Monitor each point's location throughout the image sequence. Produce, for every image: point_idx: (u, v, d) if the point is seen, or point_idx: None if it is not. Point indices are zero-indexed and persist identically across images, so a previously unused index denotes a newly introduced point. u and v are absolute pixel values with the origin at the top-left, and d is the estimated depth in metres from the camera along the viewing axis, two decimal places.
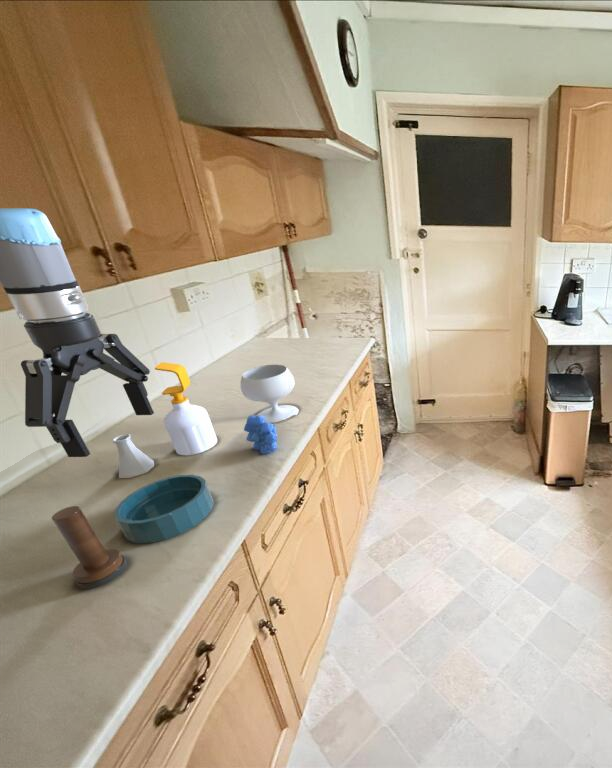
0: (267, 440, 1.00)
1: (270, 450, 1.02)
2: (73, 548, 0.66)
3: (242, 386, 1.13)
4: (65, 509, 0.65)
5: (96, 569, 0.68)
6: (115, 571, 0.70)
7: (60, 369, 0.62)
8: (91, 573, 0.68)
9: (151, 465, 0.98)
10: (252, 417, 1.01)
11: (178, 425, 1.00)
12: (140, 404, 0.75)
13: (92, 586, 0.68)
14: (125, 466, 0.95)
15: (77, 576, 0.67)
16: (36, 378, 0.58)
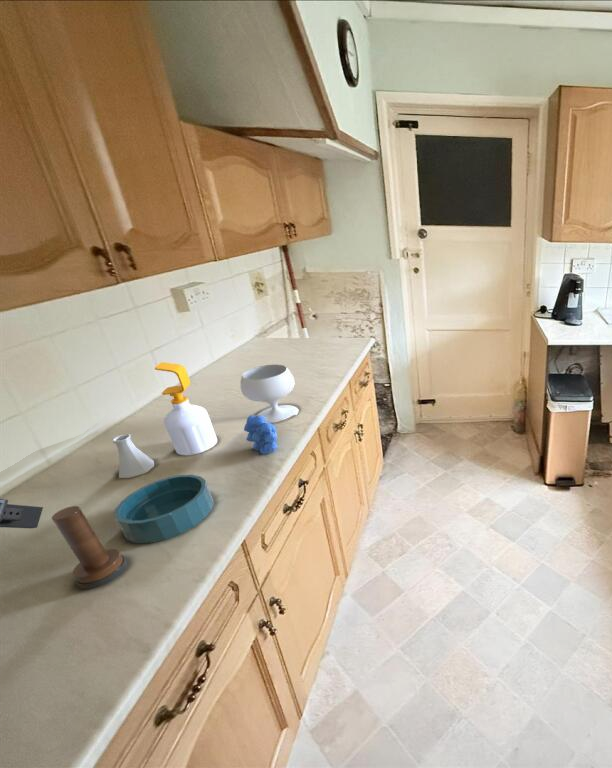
0: (267, 440, 1.00)
1: (270, 450, 1.02)
2: (73, 548, 0.66)
3: (242, 386, 1.13)
4: (65, 509, 0.65)
5: (96, 569, 0.68)
6: (115, 571, 0.70)
7: None
8: (91, 573, 0.68)
9: (151, 465, 0.98)
10: (252, 417, 1.01)
11: (178, 425, 1.00)
12: None
13: (92, 586, 0.68)
14: (125, 466, 0.95)
15: (77, 576, 0.67)
16: None
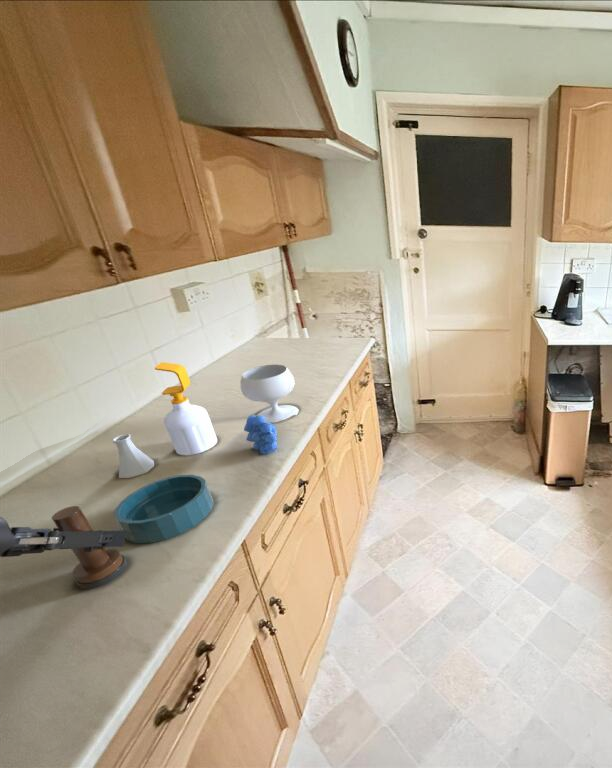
0: (267, 440, 1.00)
1: (270, 450, 1.02)
2: (73, 548, 0.66)
3: (242, 386, 1.13)
4: (65, 509, 0.65)
5: (96, 569, 0.68)
6: (115, 571, 0.70)
7: None
8: (91, 573, 0.68)
9: (151, 465, 0.98)
10: (252, 417, 1.01)
11: (178, 425, 1.00)
12: None
13: (92, 586, 0.68)
14: (125, 466, 0.95)
15: (77, 576, 0.67)
16: None
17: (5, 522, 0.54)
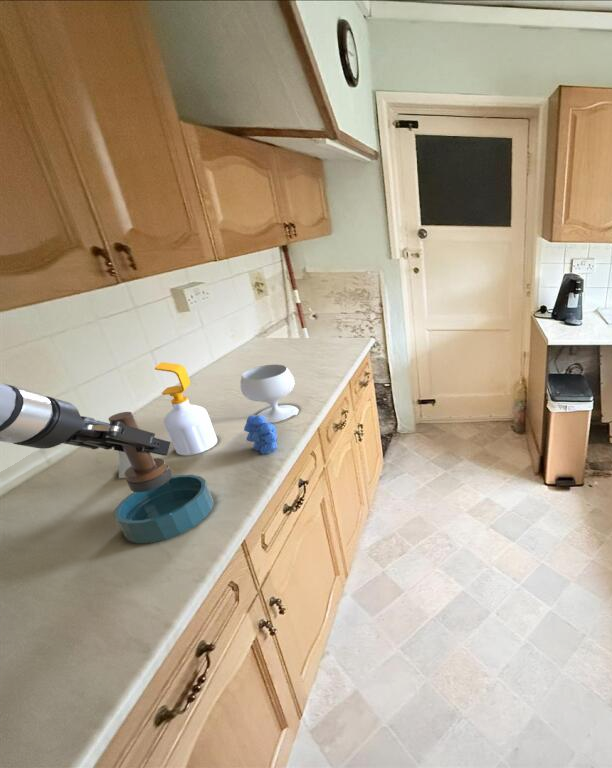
0: (267, 440, 1.00)
1: (270, 450, 1.02)
2: (126, 449, 0.73)
3: (242, 386, 1.13)
4: (119, 413, 0.73)
5: (145, 471, 0.76)
6: (161, 475, 0.77)
7: None
8: (141, 474, 0.75)
9: None
10: (252, 417, 1.01)
11: (178, 425, 1.00)
12: None
13: (142, 486, 0.75)
14: (125, 466, 0.95)
15: (129, 476, 0.75)
16: None
17: (75, 408, 0.62)
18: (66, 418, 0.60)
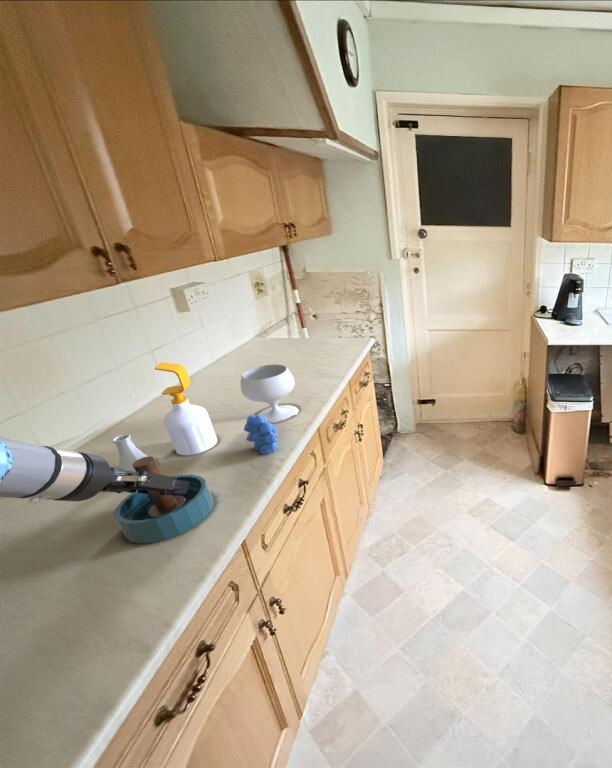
0: (267, 440, 1.00)
1: (270, 450, 1.02)
2: (149, 492, 0.77)
3: (242, 386, 1.13)
4: (142, 459, 0.76)
5: (168, 510, 0.80)
6: None
7: None
8: (164, 513, 0.79)
9: None
10: (252, 417, 1.01)
11: (178, 425, 1.00)
12: None
13: None
14: (125, 466, 0.95)
15: (153, 516, 0.79)
16: None
17: (106, 461, 0.66)
18: (98, 473, 0.63)
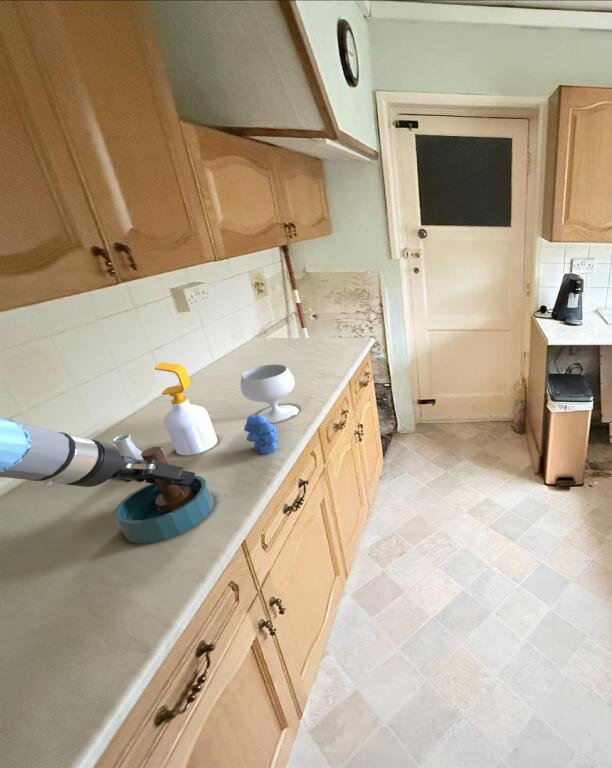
0: (267, 440, 1.00)
1: (270, 450, 1.02)
2: (157, 481, 0.80)
3: (242, 386, 1.13)
4: (150, 448, 0.79)
5: (174, 499, 0.83)
6: None
7: None
8: (171, 502, 0.82)
9: None
10: (252, 417, 1.01)
11: (178, 425, 1.00)
12: None
13: None
14: None
15: (160, 504, 0.81)
16: None
17: (117, 449, 0.69)
18: (109, 459, 0.66)
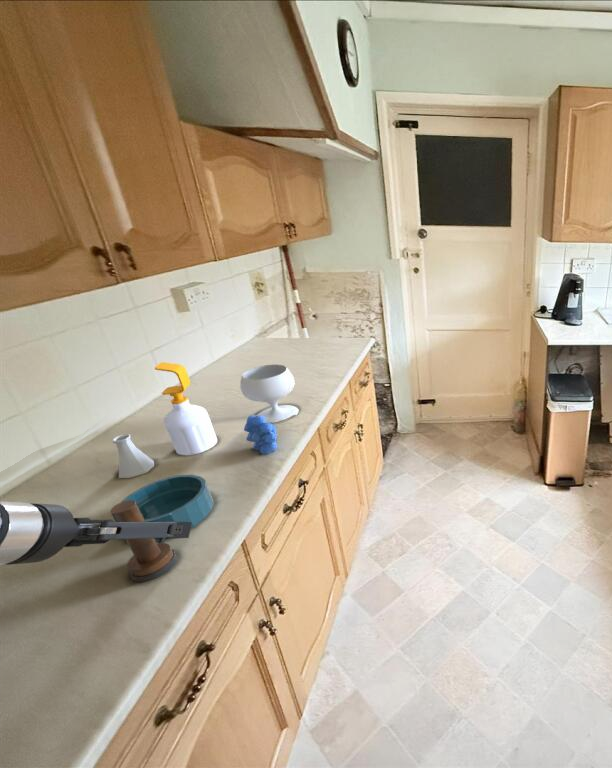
0: (267, 440, 1.00)
1: (270, 450, 1.02)
2: (129, 541, 0.67)
3: (242, 386, 1.13)
4: (121, 503, 0.67)
5: (150, 561, 0.70)
6: (168, 564, 0.71)
7: None
8: (146, 566, 0.69)
9: (151, 465, 0.98)
10: (252, 417, 1.01)
11: (178, 425, 1.00)
12: None
13: (146, 579, 0.69)
14: (125, 466, 0.95)
15: (132, 569, 0.68)
16: None
17: (69, 512, 0.55)
18: (58, 529, 0.53)
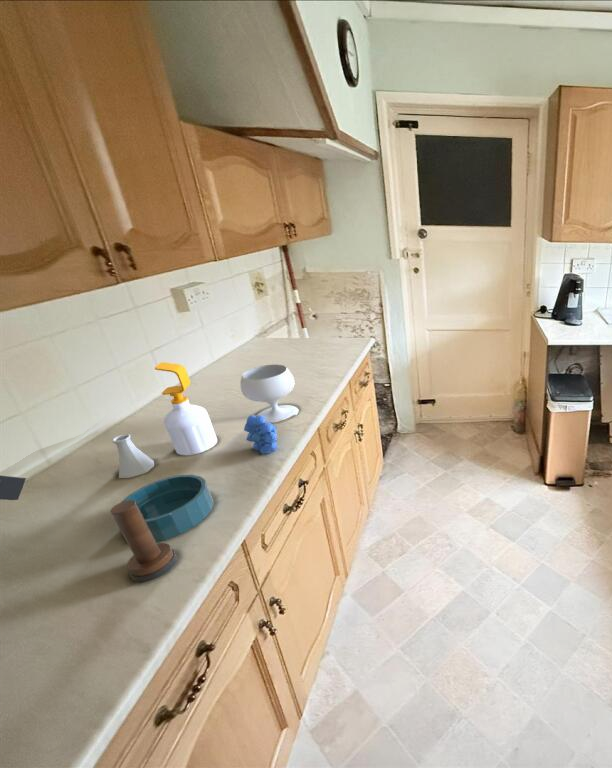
0: (267, 440, 1.00)
1: (270, 450, 1.02)
2: (129, 541, 0.67)
3: (242, 386, 1.13)
4: (121, 503, 0.67)
5: (150, 561, 0.70)
6: (168, 564, 0.71)
7: None
8: (146, 566, 0.69)
9: (151, 465, 0.98)
10: (252, 417, 1.01)
11: (178, 425, 1.00)
12: None
13: (146, 579, 0.69)
14: (125, 466, 0.95)
15: (132, 569, 0.68)
16: None
17: None
18: None
